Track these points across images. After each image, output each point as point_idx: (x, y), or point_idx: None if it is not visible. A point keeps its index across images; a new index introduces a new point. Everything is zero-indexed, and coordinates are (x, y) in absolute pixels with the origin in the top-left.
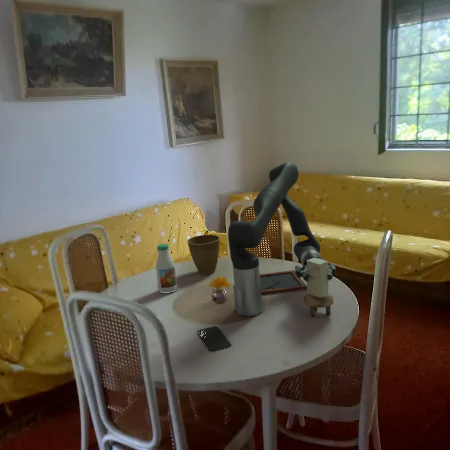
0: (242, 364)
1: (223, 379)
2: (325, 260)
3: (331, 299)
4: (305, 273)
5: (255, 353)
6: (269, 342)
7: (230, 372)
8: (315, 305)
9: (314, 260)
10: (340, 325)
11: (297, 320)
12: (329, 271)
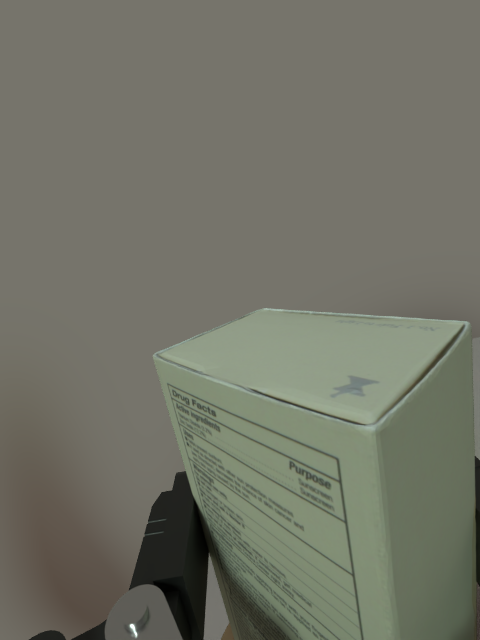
0: (473, 364)
1: (473, 338)
2: (174, 364)
3: (228, 637)
4: (476, 479)
5: (475, 392)
6: (476, 433)
7: (477, 349)
8: None
9: (334, 337)
10: None
11: (477, 632)
12: (145, 596)
